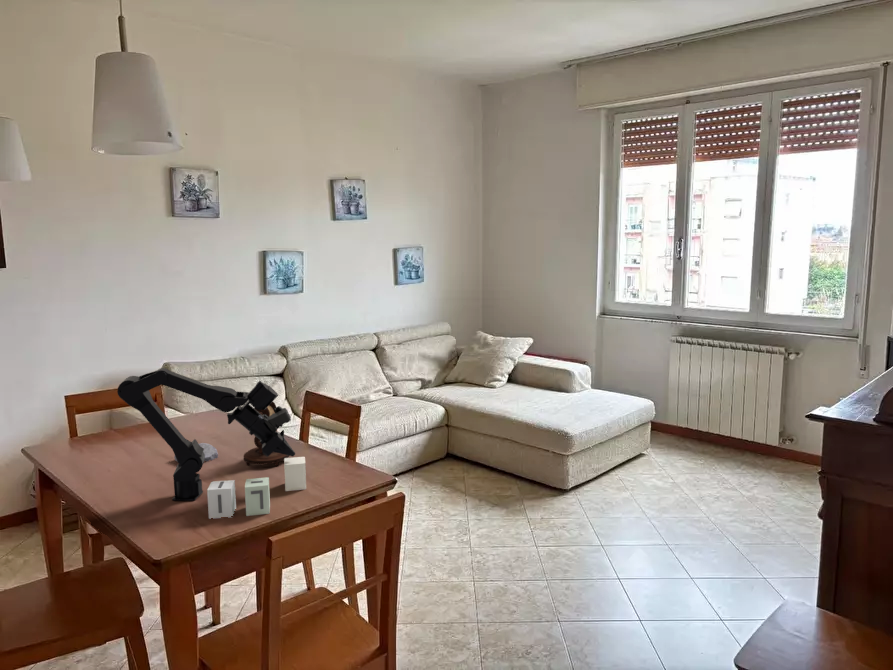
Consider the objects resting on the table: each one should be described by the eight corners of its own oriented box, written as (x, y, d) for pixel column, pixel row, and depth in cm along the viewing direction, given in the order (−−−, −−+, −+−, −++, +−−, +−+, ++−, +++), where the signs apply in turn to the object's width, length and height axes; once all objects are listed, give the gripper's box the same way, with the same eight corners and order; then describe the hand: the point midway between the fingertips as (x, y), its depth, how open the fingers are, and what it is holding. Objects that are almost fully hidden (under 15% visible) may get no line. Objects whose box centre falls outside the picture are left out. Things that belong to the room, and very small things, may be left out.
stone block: (221, 462, 217) (205, 451, 223) (221, 450, 216) (205, 438, 221) (188, 474, 208) (172, 461, 214) (188, 460, 207) (172, 448, 212)
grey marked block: (208, 519, 169) (206, 489, 168) (213, 509, 175) (211, 480, 174) (232, 517, 170) (230, 488, 169) (236, 507, 176) (234, 479, 175)
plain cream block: (285, 491, 188) (284, 465, 186) (285, 483, 193) (284, 458, 192) (306, 489, 189) (305, 463, 188) (305, 481, 195) (304, 456, 194)
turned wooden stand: (281, 469, 205) (279, 408, 202) (236, 468, 206) (233, 407, 203) (295, 453, 220) (293, 397, 217) (253, 453, 221) (250, 396, 218)
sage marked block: (246, 516, 171) (244, 487, 169) (247, 507, 177) (245, 478, 175) (269, 514, 172) (268, 484, 171) (270, 504, 178) (268, 476, 177)
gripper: (272, 409, 177) (314, 444, 181) (273, 393, 195) (312, 426, 199) (244, 438, 176) (287, 473, 181) (247, 420, 194) (286, 452, 198)
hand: (294, 454), depth 190 cm, fingers closed
